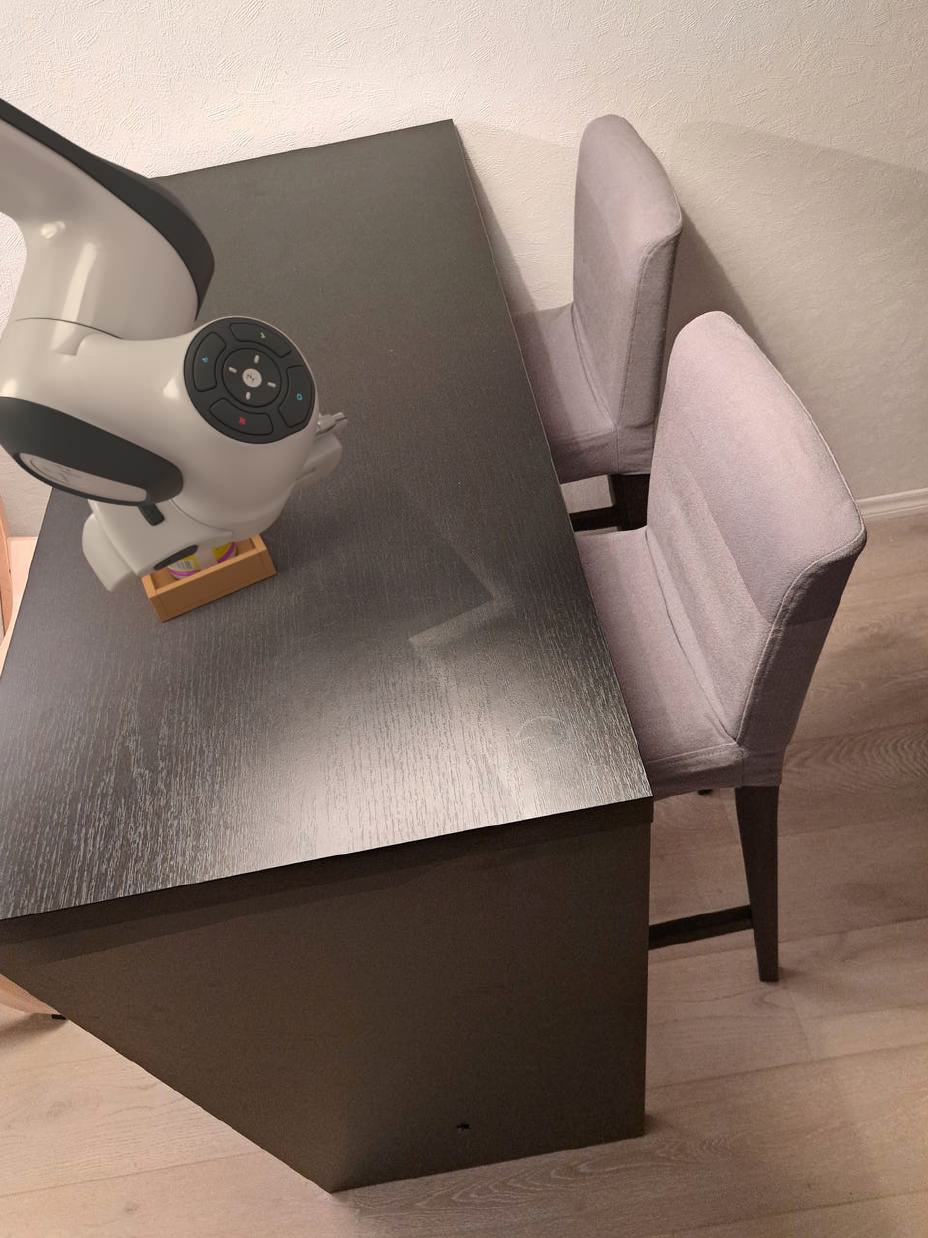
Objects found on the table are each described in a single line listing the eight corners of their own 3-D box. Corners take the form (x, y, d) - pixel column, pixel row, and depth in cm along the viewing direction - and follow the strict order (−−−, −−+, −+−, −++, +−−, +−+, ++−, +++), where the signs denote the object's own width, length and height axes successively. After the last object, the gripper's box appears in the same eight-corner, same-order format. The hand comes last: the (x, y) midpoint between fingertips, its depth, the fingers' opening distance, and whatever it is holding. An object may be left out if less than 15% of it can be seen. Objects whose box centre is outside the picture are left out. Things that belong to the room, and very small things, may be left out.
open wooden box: (161, 622, 84) (148, 598, 82) (137, 558, 92) (125, 534, 90) (276, 573, 87) (267, 548, 85) (244, 514, 95) (234, 490, 93)
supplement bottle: (228, 530, 92) (180, 417, 84) (246, 566, 88) (198, 450, 79) (163, 557, 91) (107, 444, 82) (178, 595, 86) (120, 479, 77)
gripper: (327, 370, 68) (297, 438, 81) (63, 504, 61) (76, 555, 73) (375, 444, 68) (337, 500, 81) (117, 586, 61) (121, 623, 74)
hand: (211, 527), depth 77 cm, fingers open, 8 cm apart
